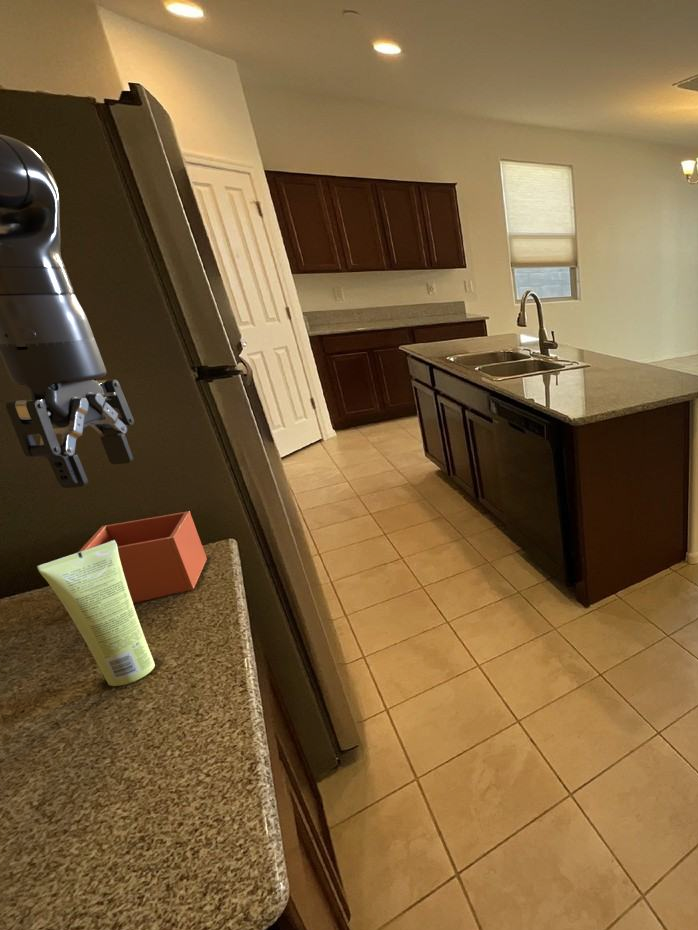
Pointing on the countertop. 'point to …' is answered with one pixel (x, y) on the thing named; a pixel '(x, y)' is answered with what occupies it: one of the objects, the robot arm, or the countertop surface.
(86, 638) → the tube
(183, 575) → the trash bin
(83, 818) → the countertop surface
